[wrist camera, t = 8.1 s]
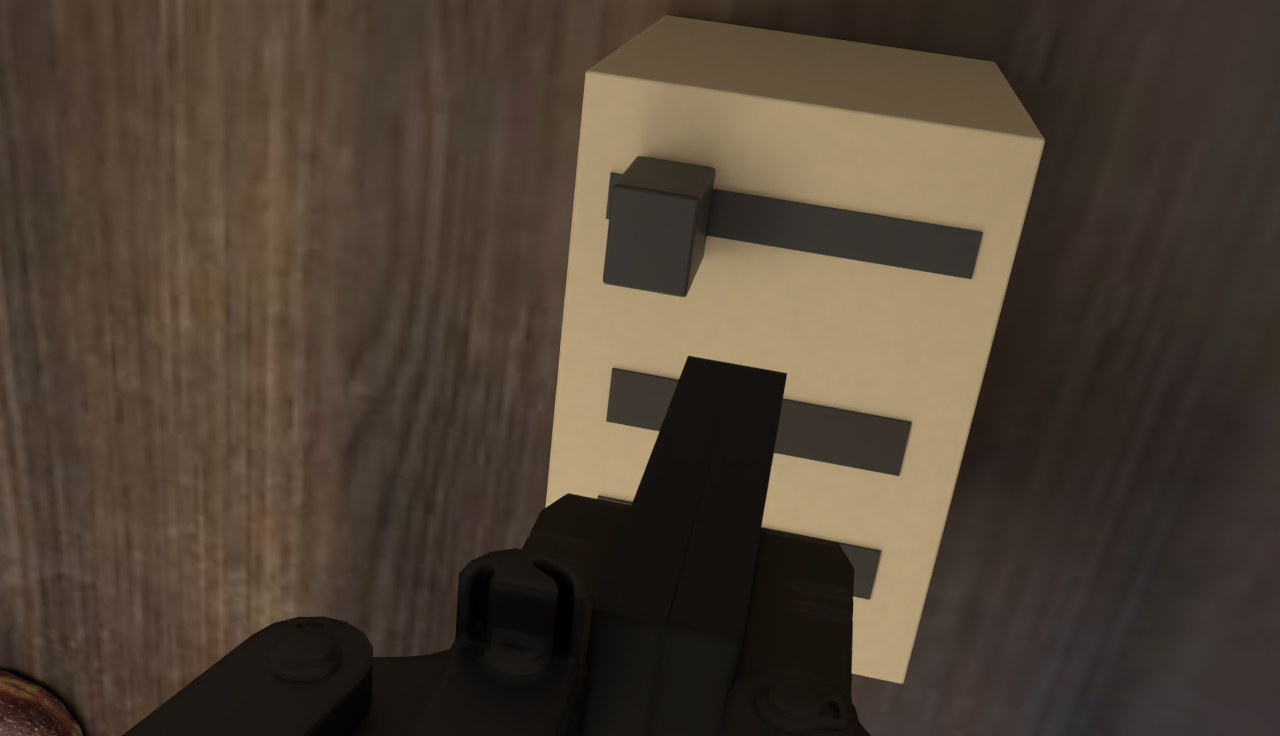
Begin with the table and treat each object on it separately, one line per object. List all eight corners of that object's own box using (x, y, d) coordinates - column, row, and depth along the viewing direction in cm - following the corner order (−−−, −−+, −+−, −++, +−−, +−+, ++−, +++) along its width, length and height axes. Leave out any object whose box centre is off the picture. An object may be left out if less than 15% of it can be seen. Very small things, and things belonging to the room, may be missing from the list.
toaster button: (636, 154, 28) (612, 184, 26) (716, 167, 28) (700, 198, 25) (626, 246, 29) (601, 285, 27) (703, 259, 29) (686, 299, 26)
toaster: (665, 14, 39) (584, 70, 28) (995, 61, 38) (1046, 140, 27) (615, 432, 45) (534, 610, 35) (895, 485, 44) (903, 687, 33)
